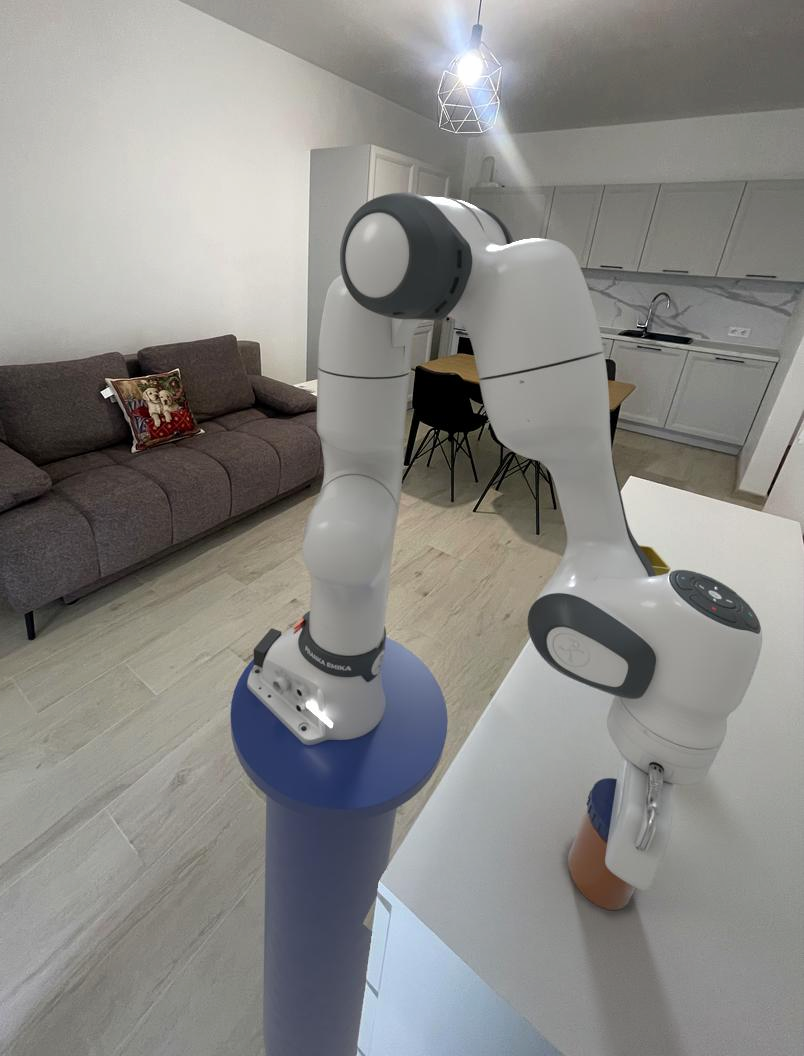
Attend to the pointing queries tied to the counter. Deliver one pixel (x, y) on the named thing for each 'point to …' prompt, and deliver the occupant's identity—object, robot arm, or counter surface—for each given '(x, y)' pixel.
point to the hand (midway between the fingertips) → (622, 823)
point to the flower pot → (656, 561)
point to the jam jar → (596, 869)
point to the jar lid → (601, 805)
